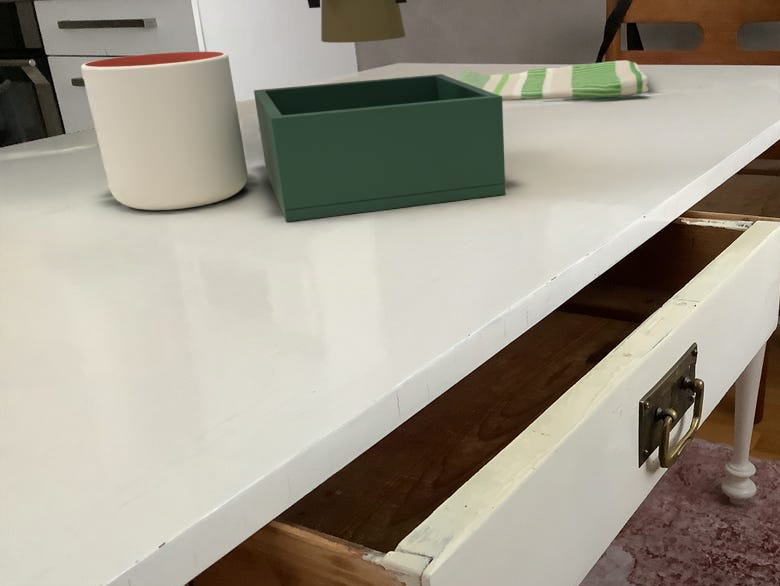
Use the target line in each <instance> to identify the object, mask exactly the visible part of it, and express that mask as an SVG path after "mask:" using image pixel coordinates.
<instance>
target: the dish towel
mask: <svg viewBox="0 0 780 586" xmlns="http://www.w3.org/2000/svg"><path fill="white" fill-rule="evenodd" d="M457 80H459V81H461V82H464V83H467V84H469V85H472V86H475V87H477V88H480V89H483V90H485V91H488V92H491V93H493V94H496V95H499V96H502V101H509V100H510V101H513V100H514V101H515V100H539V99H566V100H579V99H598V98H613V97H622V96H629V95H639V94H642V93H646V92H648V91H650V88H649V86H648V83H649V78H648V76H647V75H646V74H645V73H644V71H643V70H642V68H640V66H639V65H638V63H636V62H634V61H630V60H627V59H625V60H623V59H622V60H612V61H611V60H609V61H603V62H591V63H582V64H573V65H567V66H559V67H551V68H549V67H548V68H546V67H545V68H535V69H530V70H529V69H528V70H524V71H522V72H519V73H501V74H500V73H499V74H487V73H479V72H476V71H473V70H469V69H467V70H466V69H465V70H463V71H461V73H460V78H458V79H457Z"/></svg>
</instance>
